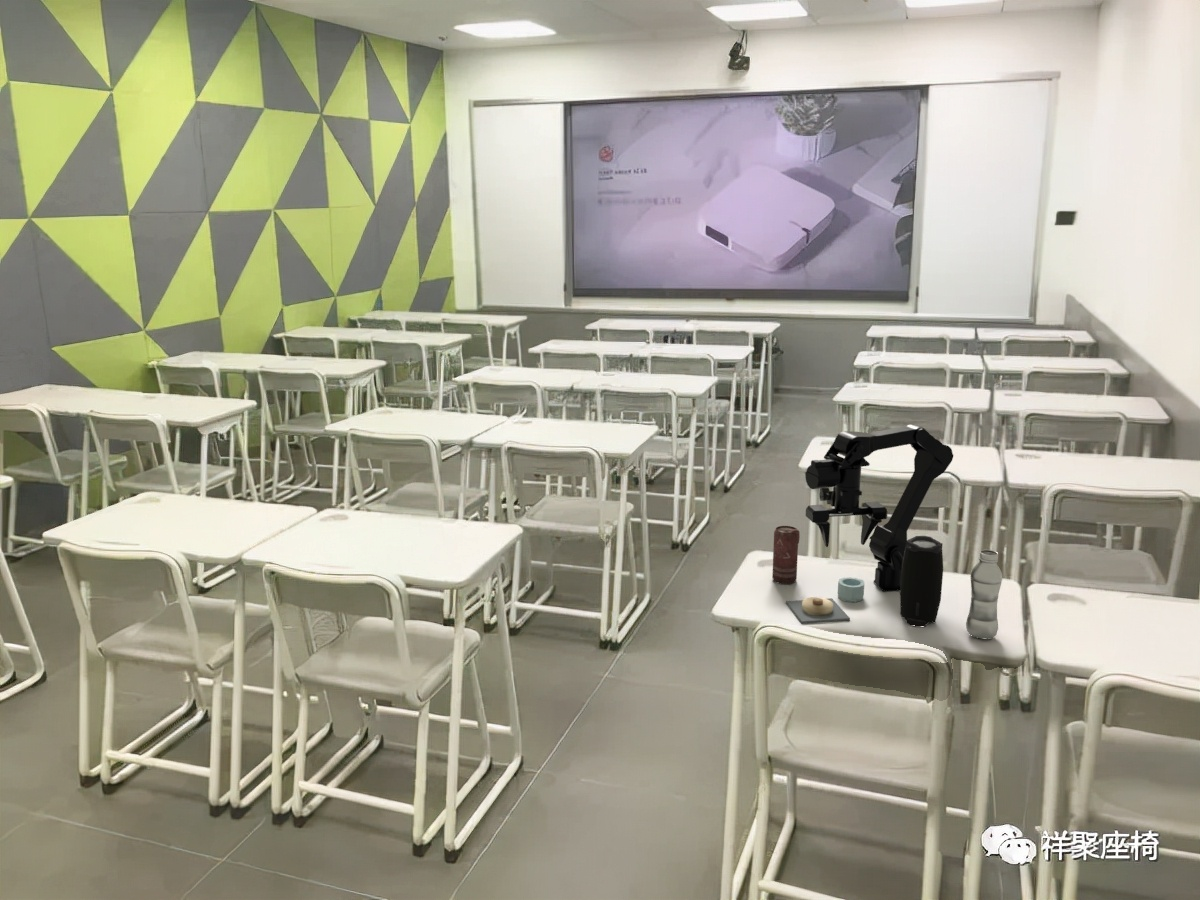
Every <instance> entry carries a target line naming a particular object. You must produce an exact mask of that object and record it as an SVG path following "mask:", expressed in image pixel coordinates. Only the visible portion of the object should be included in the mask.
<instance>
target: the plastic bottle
mask: <svg viewBox="0 0 1200 900" xmlns="http://www.w3.org/2000/svg"><path fill="white" fill-rule="evenodd" d="M978 561H979V562H977V563H976V564H975V565H974V566H973V567H972V569H971V571H970V586H971V587H970V588H971V590H970V591H971V592H970V593H971V594H970V596H971V597H970V606H969V611H968V615H967V618H966V622H965V629H966V632H967V633H968V635H969V634H970V635H969V636H971V635H972V636H974V637H973V638H975V637H978V638H987V639H986V640H989V639H988V638H992V639H994V638H995V637H996V636H997V634H998V631H999V621H998V602H999V600H998V599H999V596H1000V590H1001V587H1002V583H1003V577H1004V576H1003V573H1002V571H1001V569H1000V567H999V565H998V564H997V563H998V561H999V553H998V552H997V551H995V550H991V549H982V550H980V551H979V555H978ZM972 636H971V637H972ZM993 637H994V638H993ZM978 638H977V639H978Z"/></svg>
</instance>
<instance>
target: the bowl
mask: <svg viewBox="0 0 1200 900" xmlns="http://www.w3.org/2000/svg"><path fill="white" fill-rule="evenodd" d="M864 596H865V582H864V580H862V579H860V578H857V577H842V578H839V579H838V582H837V598H838V599H839V600H841V601H843V602H846V603H847V602H848V603H859V602H862V601H864Z"/></svg>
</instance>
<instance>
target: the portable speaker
mask: <svg viewBox="0 0 1200 900" xmlns="http://www.w3.org/2000/svg"><path fill="white" fill-rule="evenodd" d="M943 576H944V558H943V542H940V541H938V540H936V539H935V538H933V537H932V536H927V535H915V536H913V537H912V538H909V539H907V543H906V547H905V552H904V556H903V561H902V570H901V584H900V591H899V606H900V607H899V610H900V612H899V613H900V616H901V617H902V618H903V619H904V620H905V622H906V624H907V625H909V626H910V625H915V626H914V627H916V626H925V627H926V626H927V625H928V624H930V623H933V622H935V623H936V622H937V621H936V620H937V616H938V613H939V608H940V604H941V598H942V587H943Z"/></svg>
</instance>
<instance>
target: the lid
mask: <svg viewBox="0 0 1200 900" xmlns="http://www.w3.org/2000/svg"><path fill="white" fill-rule="evenodd" d="M828 599H829V598H823V597H820V596H819V597H817V596H813V597H812V596H811V597H810V596H809V597H806V598H804V599H802V600H803V601H802V610H803V611H804V612H805V613H807V614H810V615H815V616H825V615H829V614H831V613H832V612H833V603H832V602H831V601H830V600H828Z"/></svg>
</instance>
